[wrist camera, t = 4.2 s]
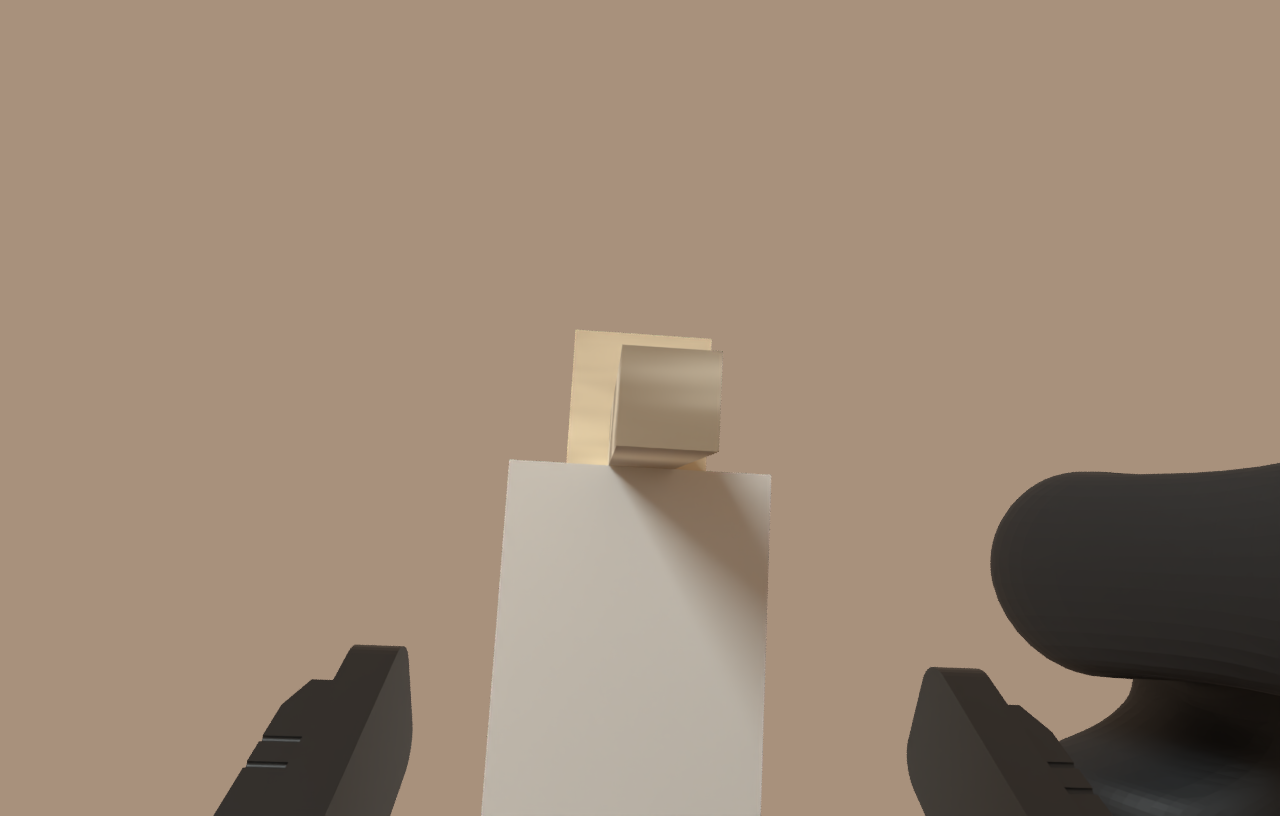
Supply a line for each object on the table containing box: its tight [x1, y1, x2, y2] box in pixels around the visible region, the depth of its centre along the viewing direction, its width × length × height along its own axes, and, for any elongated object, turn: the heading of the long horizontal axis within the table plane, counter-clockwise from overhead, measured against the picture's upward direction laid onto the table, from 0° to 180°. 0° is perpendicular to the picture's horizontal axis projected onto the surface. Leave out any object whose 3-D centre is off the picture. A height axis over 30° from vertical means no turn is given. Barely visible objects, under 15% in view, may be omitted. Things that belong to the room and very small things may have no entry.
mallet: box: [567, 330, 723, 471], centre depth 28 cm, size 20×6×6 cm, turn 3°
